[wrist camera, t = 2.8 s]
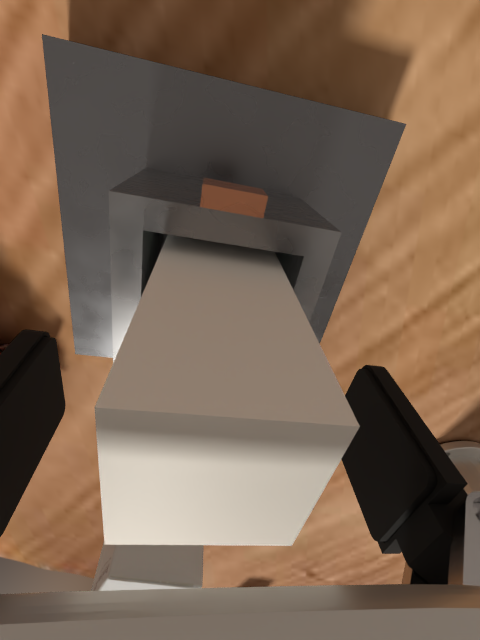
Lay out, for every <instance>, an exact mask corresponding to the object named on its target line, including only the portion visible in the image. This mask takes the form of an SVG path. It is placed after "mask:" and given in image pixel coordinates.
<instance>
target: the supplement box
mask: <svg viewBox="0 0 480 640" xmlns="http://www.w3.org/2000/svg"><path fill="white" fill-rule="evenodd" d="M202 577H203V545H105V542H104V543H103V547H102V551H101V555H100V559H99V563H98V567H97V570H96V574H95V578H94V582H93V586H92V589H91V591H112V590H149V589H188V588H201V587H202Z"/></svg>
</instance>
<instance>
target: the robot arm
mask: <svg viewBox="0 0 480 640" xmlns="http://www.w3.org/2000/svg"><path fill="white" fill-rule="evenodd" d="M345 397H346V399H347V401H348V403H349V405H350V407H351V409H352V411H353V414H354V416H355V418H356V420H357V422H358V424H359V426H360V427H359V429H358V431H357V432H356V434H355V436H354V438H353V439H352V441H351V443H350V445H349V446H348V448H347V450H346V452H345V453H344V455H343V457H342V461H343V464H344V467H345V469H346V472H347V474H348V477H349V479H350V482H351V485H352V487H353V490H354V492H355V495H356V498H357V500H358V503H359V505H360V508H361V510H362V513H363V516H364V518H365V521H366V523H367V526H368V528H369V531H370V534H371V536H372V537H373V539H374V540H375V541H378V544H379V546H380V549H381V551H382V554H398V553H401V552H402V553H403V556H404V558H405V560H406V563H405V568H404V574H403V579H402V584H391V585H330V586H278V587H232V588H188V589H149V590H112V591H78V592H77V591H76V592H43V593H21V594H0V640H480V443H477V442H472V441H454V442H448V443H443V444H439V443H438V441H437V440H436V438H435V437H434V436H433V434H432V433H431V431H430V430H429V429H428V427H427V426H426V424H425V423H424V421H423V420H422V419H421V417H420V416H419V414H418V413H417V412H416V410H415V409H414V407H413V406H412V405H411V403H410V402H409V400H408V399H407V398H406V396H405V395H404V393H403V392H402V391H401V389H400V388H399V386H398V385H397V384H396V382H395V381H394V379H393V378H392V377H391V375H390V374H389V372H388V371H387V370H386V369H385V368H384V367H381V366H371V365H365V366H364V367H363V368H362V369H359V370H358V371H357V373H356V375H355V377H354V379H353V381H352V383H351V385H350V387H349V389H348V391H347V393H346V395H345ZM64 411H65V398H64V391H63V384H62V377H61V370H60V363H59V356H58V349H57V342H56V339H55V338H52V337H50V335H49V333H48V332H44V331H34V330H23V331H21V332H20V333H19V334H18V335H17V336H16V338H15V339H14V340H13V341H12V342H11V343H10V344H9V345H8V346H7V347H6V348H5V349H4V351H3V352H2V353H1V354H0V537H1V535H2V534H3V532H4V530H5V529H6V527H7V525H8V523H9V521H10V519H11V517H12V515H13V513H14V511H15V509H16V507H17V505H18V503H19V501H20V499H21V497H22V495H23V493H24V491H25V489H26V487H27V485H28V483H29V482H30V480H31V478H32V476H33V474H34V472H35V470H36V468H37V466H38V464H39V462H40V460H41V458H42V456H43V454H44V452H45V450H46V448H47V446H48V444H49V442H50V440H51V438H52V437H53V435H54V433H55V431H56V429H57V427H58V425H59V423H60V421H61V419H62V417H63V415H64Z"/></svg>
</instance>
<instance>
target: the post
mask: <svg viewBox="0 0 480 640" xmlns="http://www.w3.org/2000/svg"><path fill="white" fill-rule="evenodd" d="M95 419H96V432H97V446H98V460H99V473H100V487H101V501H102V515H103V528H104V542H105V545H264V546H292V544H293V543H294V541H295V539H296V537H297V536H298V534H299V532H300V530H301V529H302V527H303V525H304V523H305V522H306V520H307V518H308V516H309V515H310V513H311V511H312V509H313V508H314V506H315V504H316V502H317V501H318V499H319V497H320V495H321V494H322V492H323V490H324V488H325V487H326V485H327V483H328V481H329V480H330V478H331V476H332V474H333V473H334V471H335V469H336V467H337V466H338V464H339V462H340V460H341V459H342V457H343V455H344V453H345V452H346V450H347V448H348V446H349V445H350V443H351V441H352V439H353V438H354V436H355V434H356V432H357V431H358V429H359V427H360V426H359V424H358V422H357V420H356V418H355V416H354V414H353V411H352V409H351V407H350V405H349V403H348V401H347V399H346V397H345V395H344V393H343V391H342V389H341V387H340V385H339V383H338V381H337V379H336V377H335V375H334V373H333V370H332V368H331V366H330V364H329V362H328V360H327V358H326V356H325V354H324V352H323V350H322V348H321V346H320V344H319V342H318V340H317V338H316V336H315V334H314V332H313V329H312V327H311V325H310V323H309V321H308V319H307V317H306V315H305V313H304V311H303V309H302V307H301V305H300V303H299V301H298V299H297V297H296V295H295V293H294V291H293V288H292V286H291V284H290V282H289V280H288V278H287V276H286V274H285V272H284V270H283V268H282V266H281V264H280V262H279V260H278V258H277V256H276V254H275V252H274V251H268V250H262V249H256V248H249V247H243V246H237V245H231V244H225V243H219V242H212V241H206V240H200V239H194V238H188V237H181V236H175V235H169V234H168V235H167V238H166V240H165V242H164V245H163V247H162V249H161V252H160V254H159V256H158V259H157V261H156V264H155V266H154V268H153V271H152V273H151V275H150V278H149V280H148V282H147V285H146V287H145V290H144V292H143V294H142V297H141V299H140V301H139V304H138V306H137V308H136V311H135V313H134V316H133V318H132V320H131V323H130V325H129V327H128V330H127V332H126V334H125V337H124V339H123V342H122V344H121V346H120V349H119V351H118V353H117V356H116V358H115V360H114V363H113V365H112V368H111V370H110V372H109V375H108V377H107V379H106V382H105V384H104V387H103V389H102V391H101V394H100V396H99V398H98V401H97V403H96V405H95Z"/></svg>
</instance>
